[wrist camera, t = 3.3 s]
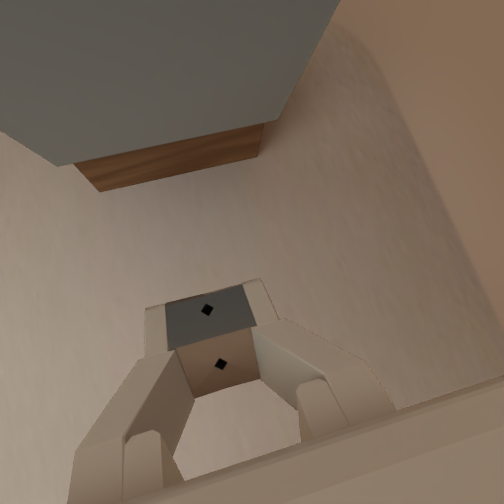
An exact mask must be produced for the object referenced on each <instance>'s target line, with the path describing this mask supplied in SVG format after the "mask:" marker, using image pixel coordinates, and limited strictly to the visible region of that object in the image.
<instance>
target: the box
mask: <svg viewBox="0 0 504 504" xmlns="http://www.w3.org/2000/svg"><path fill="white" fill-rule="evenodd" d="M263 126H264V123H260V124H255V125H251V126H246V127H241V128H237V129H232V130H227V131H222V132H218V133H213V134H208V135H204V136H199V137H194V138H190V139H185V140H180V141H176V142H171V143H166V144H161V145H157V146H152V147H147V148H143V149H138V150H133V151H129V152H124V153H119V154H114V155H110V156H105V157H100V158H96V159H91V160H86V161H82V162H77V163H73V164H74V165H75V166H76V167H77V168H78V169H79V170H80V172H81V173H82V174H83V175H84V176H85V177H86V178H87V179H88V180H89V181H90V182H91V183H92V185H93V186H94V187H95V188H96V189H97V190H98V191H99V192H103V191H107V190H112V189H116V188H121V187H125V186H130V185H134V184H138V183H143V182H147V181H152V180H156V179H161V178H165V177H170V176H174V175H178V174H183V173H187V172H192V171H196V170H201V169H205V168H210V167H214V166H218V165H223V164H227V163H232V162H236V161H241V160H245V159H250V158H254V157H257V154H258V149H259V144H260V140H261V135H262V131H263Z"/></svg>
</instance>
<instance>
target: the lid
mask: <svg viewBox="0 0 504 504" xmlns="http://www.w3.org/2000/svg"><path fill="white" fill-rule="evenodd" d="M339 2H340V0H0V130H1V131H2V132H4V133H5V134H7V135H8V136H10V137H12V138H13V139H15V140H16V141H18V142H19V143H21V144H23V145H24V146H26V147H27V148H29V149H30V150H32V151H34V152H35V153H37V154H38V155H40V156H41V157H43V158H45V159H46V160H48V161H49V162H51V163H52V164H54V165H56V166H57V167H58V166H63V165H68V164H72V163H77V162H82V161H86V160H91V159H96V158H100V157H105V156H110V155H114V154H119V153H124V152H129V151H133V150H138V149H143V148H147V147H152V146H157V145H161V144H166V143H171V142H176V141H180V140H185V139H190V138H194V137H199V136H204V135H208V134H213V133H218V132H222V131H227V130H232V129H237V128H241V127H246V126H251V125H255V124H260V123H265V122H269V121H274V120H278V118H279V116H280V114H281V112H282V110H283V108H284V107H285V105H286V103H287V101H288V99H289V97H290V95H291V93H292V91H293V89H294V88H295V86H296V84H297V82H298V80H299V78H300V76H301V74H302V72H303V70H304V68H305V67H306V65H307V63H308V61H309V59H310V57H311V55H312V53H313V51H314V49H315V48H316V46H317V44H318V42H319V40H320V38H321V36H322V34H323V32H324V30H325V28H326V27H327V25H328V23H329V21H330V19H331V17H332V15H333V13H334V11H335V9H336V7H337V6H338V4H339Z"/></svg>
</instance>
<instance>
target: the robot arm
mask: <svg viewBox="0 0 504 504" xmlns="http://www.w3.org/2000/svg"><path fill="white" fill-rule="evenodd" d="M257 379H261V381H263V382H264V383H265V384H266V385H267V386H269V387H270V388H271V389H272V390H273V391H274V392H276V393H277V394H278V395H279V396H280V397H281V398H283V399H284V400H285V401H286V402H287V403H288V404H290V405H291V406H292V407H293V408H294V409H296V410H297V411H298V416H299V426H300V435H301V443H299V444H296V445H293V446H290V447H287V448H284V449H280V450H277V451H274V452H271V453H268V454H265V455H262V456H259V457H256V458H253V459H250V460H247V461H244V462H241V463H238V464H235V465H232V466H229V467H226V468H223V469H220V470H217V471H214V472H211V473H208V474H205V475H202V476H199V477H196V478H193V479H190V480H187V481H184V479H183V477H182V475H181V473H180V471H179V469H178V467H177V465H176V463H175V461H174V459H173V455H174V452H175V450H176V447H177V445H178V442H179V439H180V437H181V434H182V432H183V429H184V427H185V424H186V422H187V419H188V417H189V414H190V412H191V409H192V407H193V404H194V402H195V400H194V399H195V398H198V397H201V396H204V395H207V394H210V393H213V392H216V391H219V390H222V389H225V388H228V387H232V386H235V385H239V384H243V383H246V382H250V381H254V380H257ZM67 504H504V376H501V377H498V378H495V379H492V380H489V381H486V382H482V383H479V384H476V385H473V386H470V387H467V388H464V389H461V390H458V391H455V392H452V393H449V394H446V395H443V396H440V397H437V398H434V399H431V400H428V401H425V402H422V403H419V404H416V405H413V406H410V407H407V408H404V409H401V410H398V411H397V410H396V408H395V407H394V405H393V403H392V402H391V400H390V399H389V397H388V396H387V394H386V392H385V391H384V389H383V388H382V386H381V385H380V383H379V381H378V380H377V378H376V377H375V375H374V374H373V372H372V370H371V369H370V367H369V366H368V364H367V363H366V362H365V361H363V360H361V359H359V358H357V357H356V356H354V355H352V354H350V353H348V352H346V351H345V350H343V349H341V348H339V347H337V346H335V345H334V344H332V343H330V342H328V341H326V340H324V339H322V338H321V337H319V336H317V335H315V334H313V333H311V332H310V331H308V330H306V329H304V328H302V327H300V326H299V325H297V324H295V323H293V322H291V321H289V320H288V319H286V318H284V319H280V320H279V317H278V315H277V313H276V311H275V308H274V306H273V304H272V302H271V300H270V297H269V295H268V293H267V291H266V288H265V286H264V284H263V282H262V280H261V279H260V278H257V279H254V280H250V281H247V282H243V283H241V284H238V285H234V286H231V287H227V288H223V289H220V290H216V291H212V292H209V293H205V294H201V295H197V296H192V297H188V298H184V299H180V300H176V301H172V302H168V303H166V304H161V305H157V306H153V307H149V308H146V309H145V311H144V358H143V359H140V360H138V361H137V363H136V364H135V366H134V367H133V368H132V370H131V371H130V373H129V374H128V376H127V377H126V379H125V380H124V381H123V383H122V384H121V386H120V387H119V389H118V390H117V392H116V393H115V395H114V396H113V397H112V399H111V400H110V402H109V403H108V405H107V406H106V408H105V409H104V410H103V412H102V413H101V415H100V416H99V418H98V419H97V421H96V422H95V423H94V425H93V426H92V428H91V429H90V431H89V432H88V434H87V435H86V437H85V438H84V439H83V441H82V442H81V444H80V445H79V447H78V448H77V450H76V451H75V455H74V462H73V469H72V475H71V482H70V489H69V495H68V502H67Z"/></svg>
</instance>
